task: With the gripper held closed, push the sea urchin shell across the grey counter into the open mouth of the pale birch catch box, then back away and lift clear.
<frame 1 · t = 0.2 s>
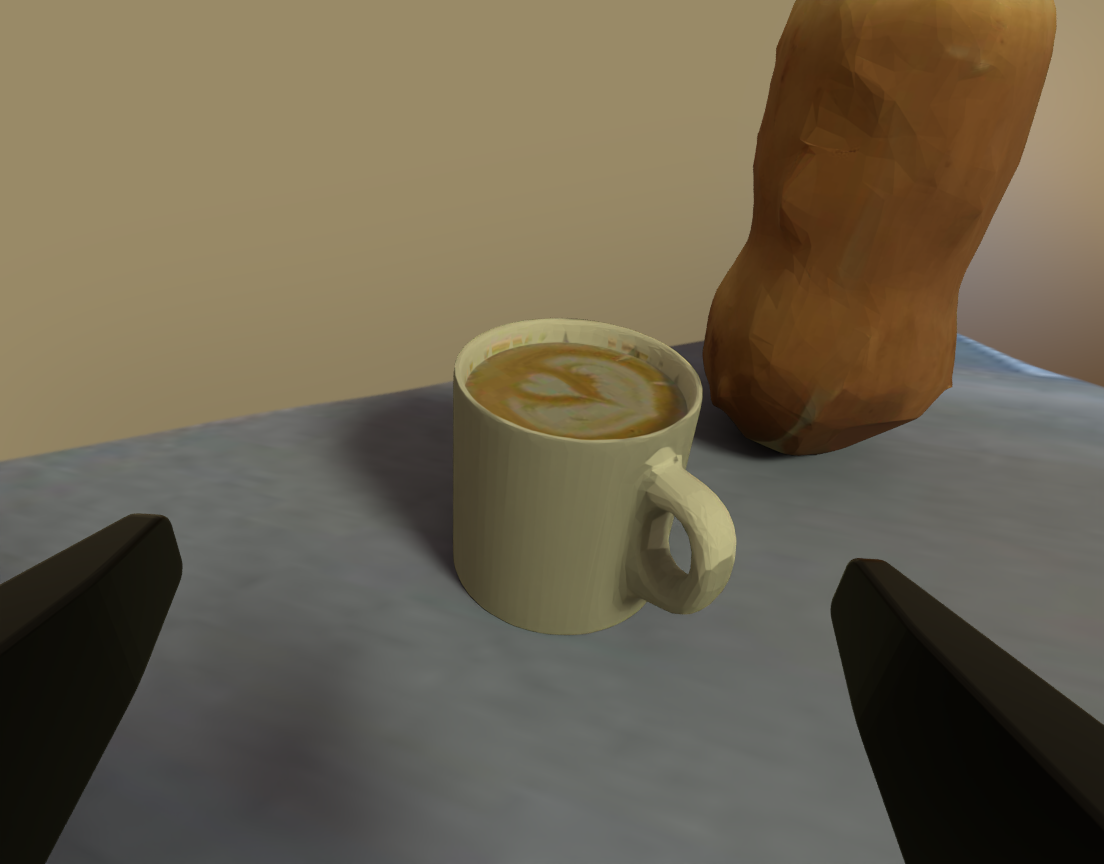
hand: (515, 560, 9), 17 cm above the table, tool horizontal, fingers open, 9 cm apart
coffee mug: (574, 578, 31), on the table
butternut squash: (788, 439, 43), on the table
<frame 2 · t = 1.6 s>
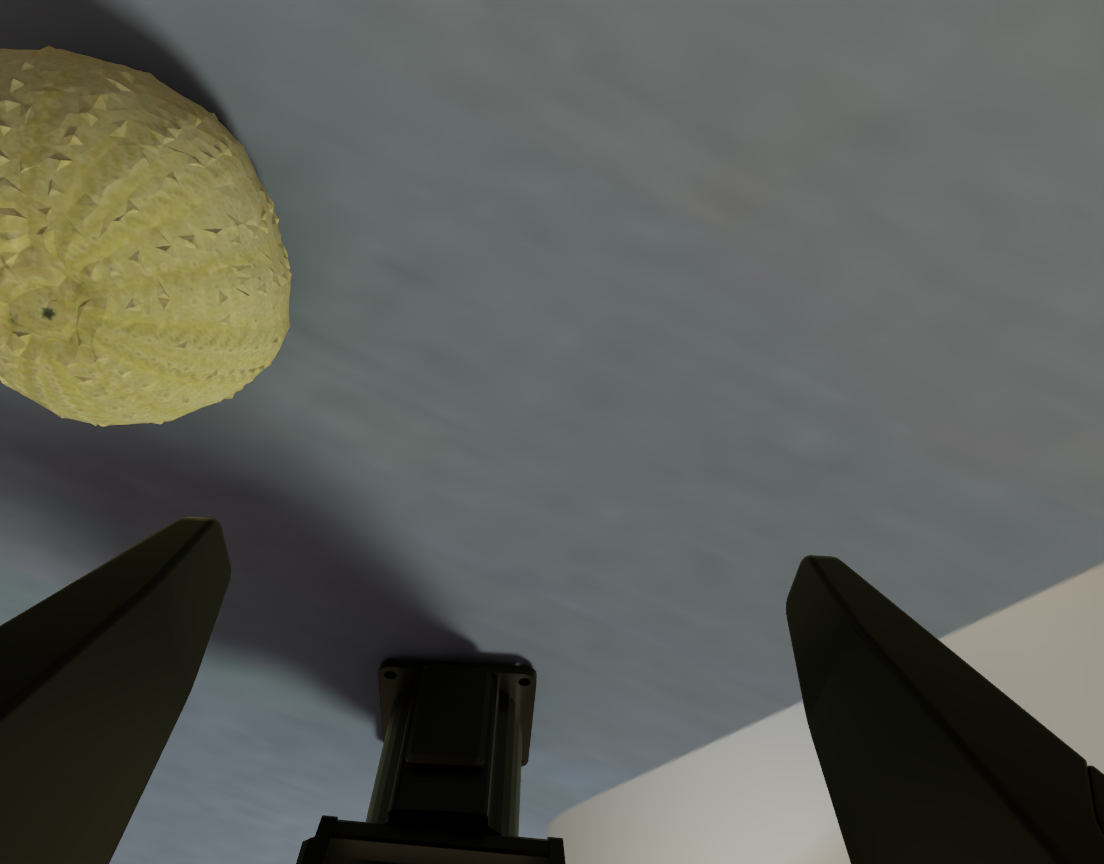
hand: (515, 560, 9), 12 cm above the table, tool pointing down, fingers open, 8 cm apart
sea urchin shell: (148, 235, 19), on the table
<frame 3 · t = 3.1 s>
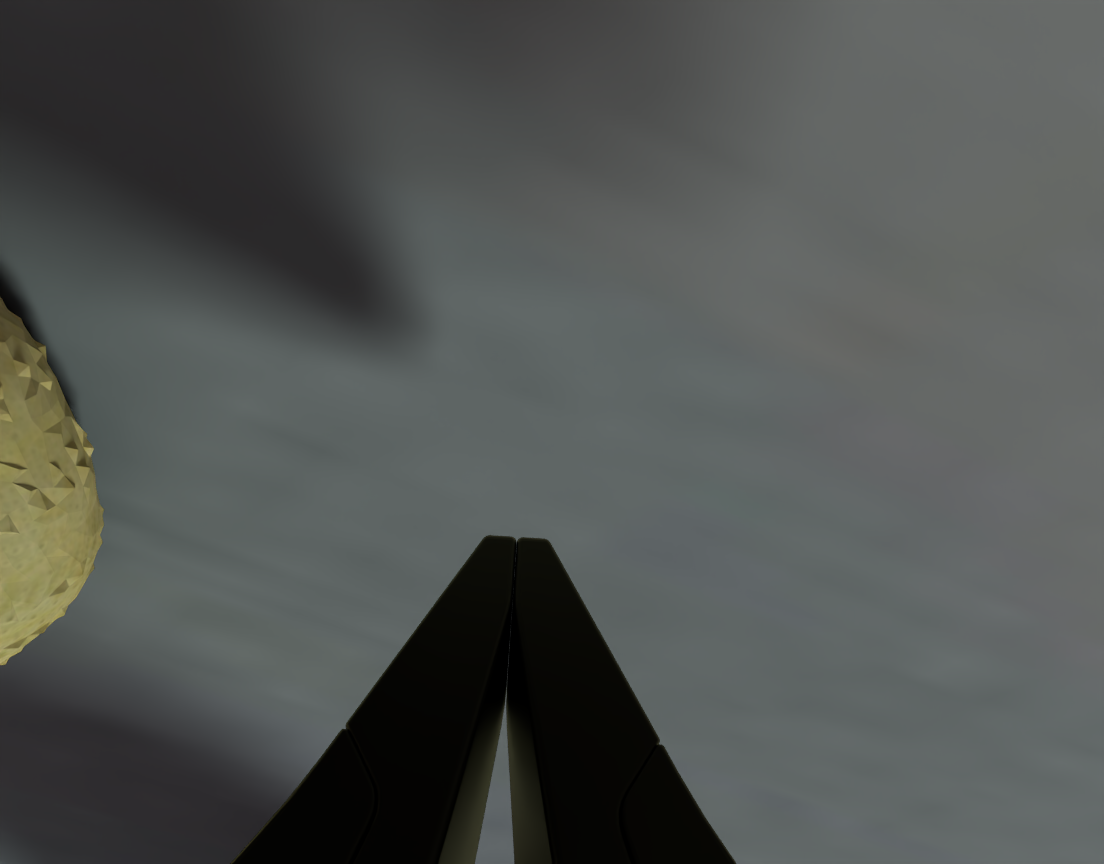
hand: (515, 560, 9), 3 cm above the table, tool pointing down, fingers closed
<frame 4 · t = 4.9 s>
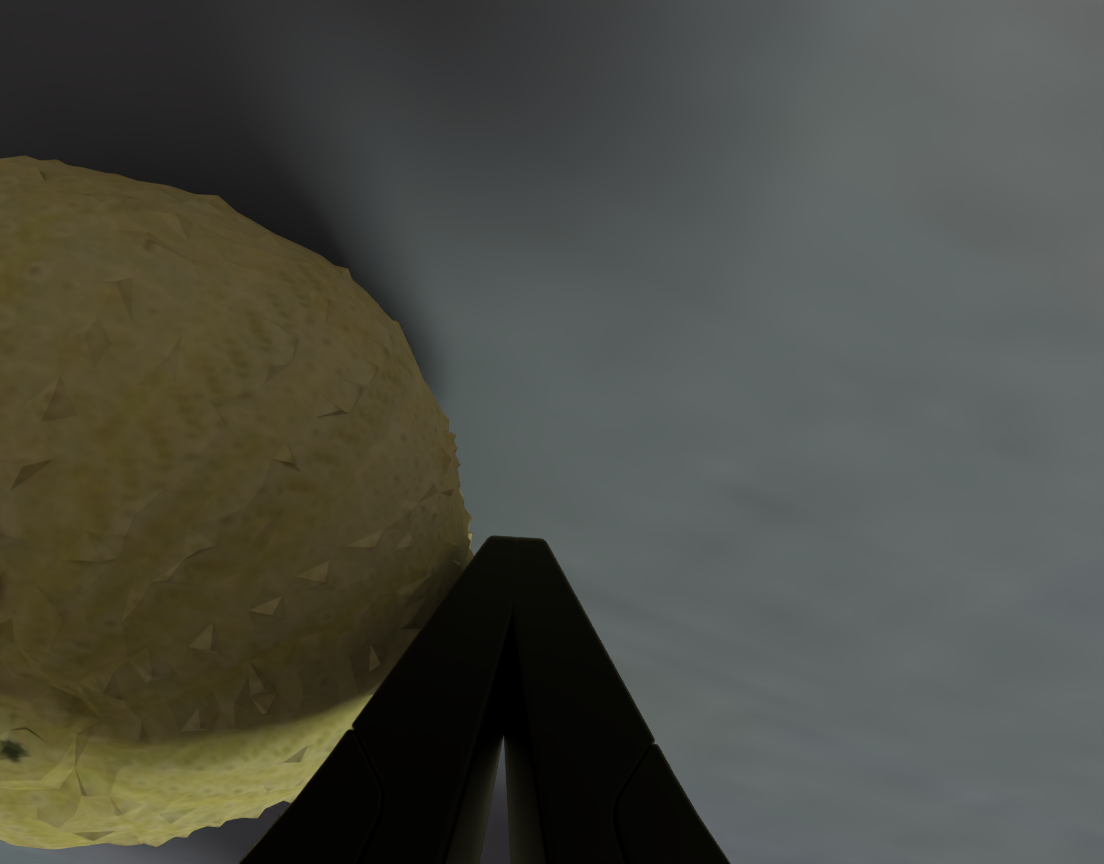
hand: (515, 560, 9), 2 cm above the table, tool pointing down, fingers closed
sea urchin shell: (199, 447, 11), on the table, touching gripper
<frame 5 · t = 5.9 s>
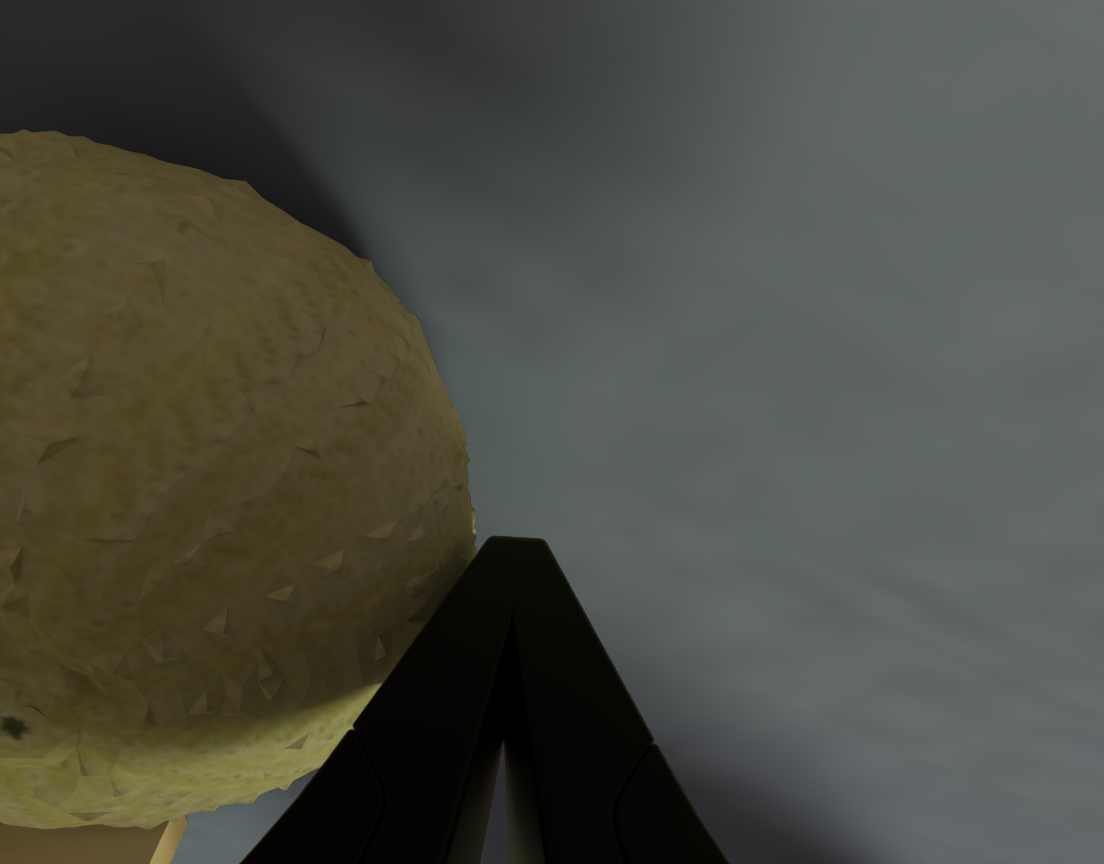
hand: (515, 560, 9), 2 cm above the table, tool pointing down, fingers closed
sea urchin shell: (203, 431, 11), on the table, touching gripper
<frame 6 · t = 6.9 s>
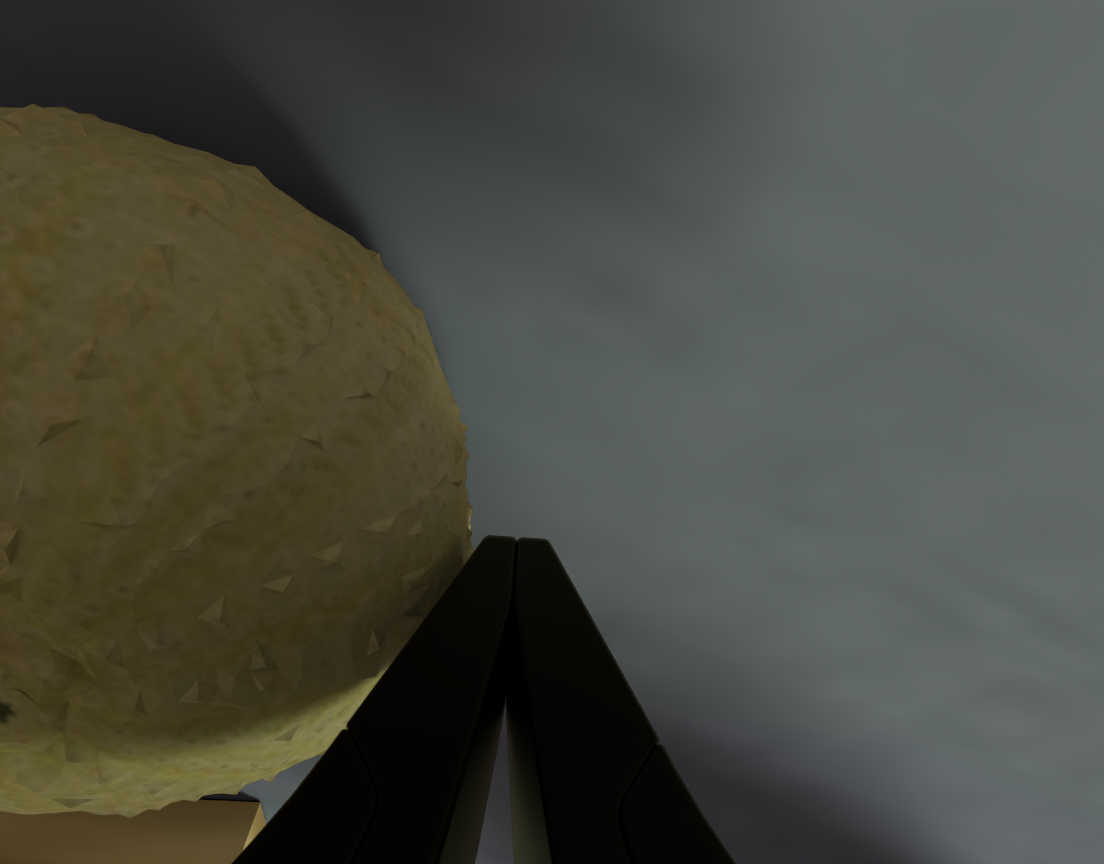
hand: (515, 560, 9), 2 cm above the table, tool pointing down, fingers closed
sea urchin shell: (197, 417, 11), on the table
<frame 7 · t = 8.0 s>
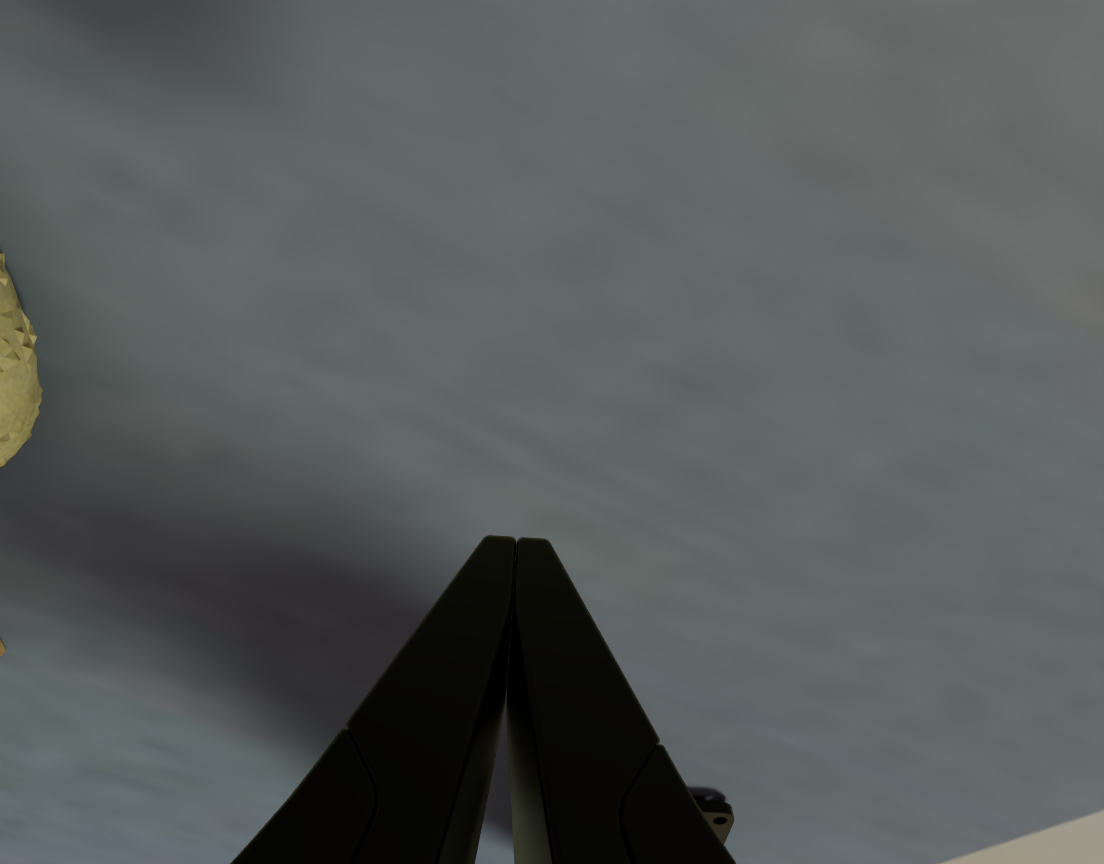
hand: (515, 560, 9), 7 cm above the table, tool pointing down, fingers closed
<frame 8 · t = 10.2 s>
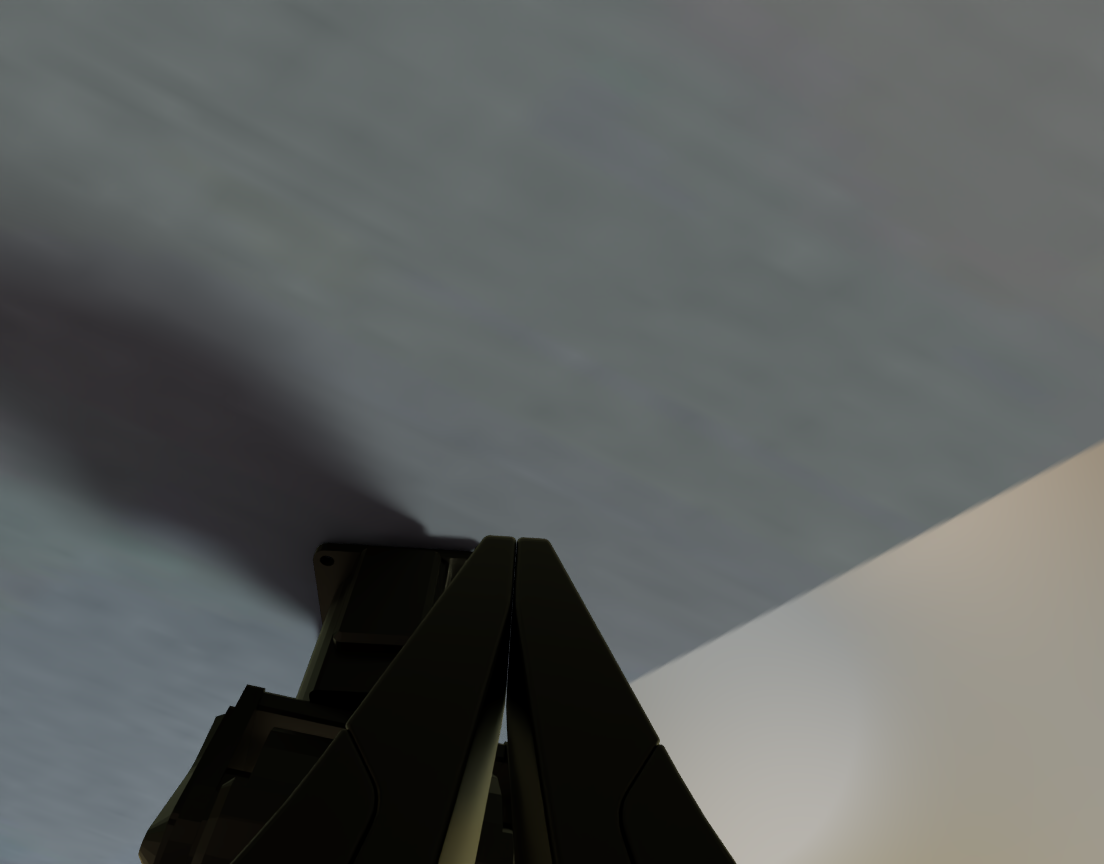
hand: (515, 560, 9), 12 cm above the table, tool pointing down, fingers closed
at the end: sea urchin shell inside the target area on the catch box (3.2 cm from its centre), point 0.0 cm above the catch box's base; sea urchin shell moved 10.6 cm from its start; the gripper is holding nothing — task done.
